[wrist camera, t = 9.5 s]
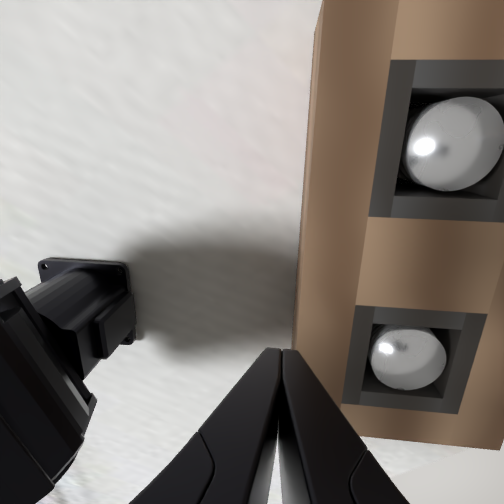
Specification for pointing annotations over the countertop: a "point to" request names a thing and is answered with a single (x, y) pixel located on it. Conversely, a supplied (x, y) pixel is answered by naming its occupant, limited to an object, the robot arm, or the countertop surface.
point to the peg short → (451, 143)
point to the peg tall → (405, 356)
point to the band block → (401, 219)
